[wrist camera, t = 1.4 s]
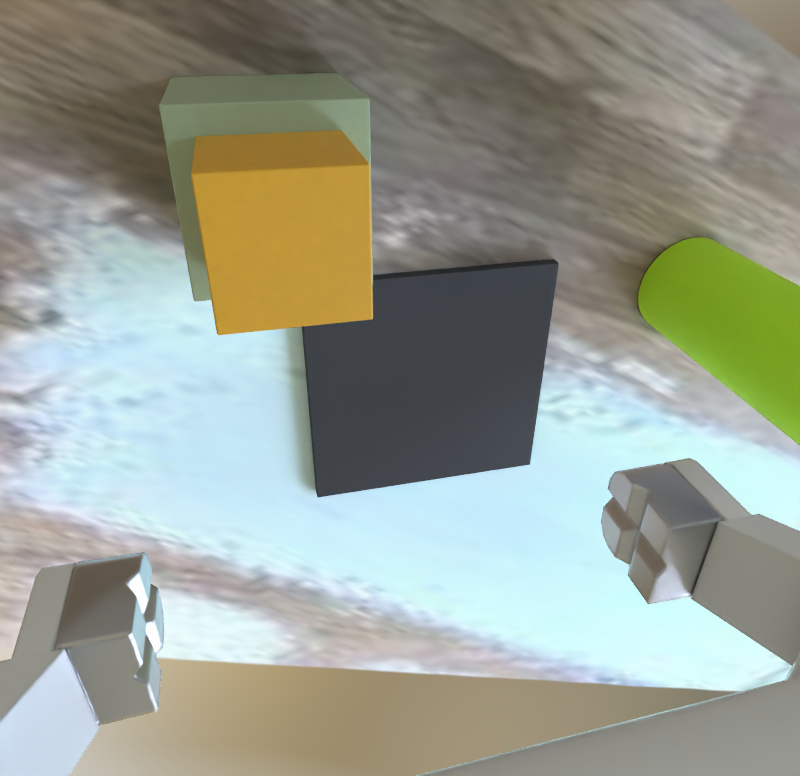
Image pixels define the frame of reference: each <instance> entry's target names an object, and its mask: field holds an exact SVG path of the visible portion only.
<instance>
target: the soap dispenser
mask: <svg viewBox="0 0 800 776" xmlns="http://www.w3.org/2000/svg"><path fill="white" fill-rule="evenodd" d="M638 304H639V309H640V312H641V314H642V316H643V318H644V319H645V320H646V322H647V323H649V324H650V325H651V326H652V327H654V328H655V329H656V330H657V331H658V332H660V333H661V334H662V335H663V336H665V337H666V338H667V339H668V340H670V341H671V342H672V343H673V344H675V345H676V346H677V347H678V348H680V349H681V350H682V351H683V352H684V353H686V354H687V355H688V356H689V357H691V358H692V359H693V360H694V361H696V362H697V363H698V364H699V365H701V366H702V367H703V368H704V369H706V370H707V371H708V372H709V373H711V374H712V375H713V376H714V377H715V378H717V379H718V380H719V381H720V382H722V383H723V384H724V385H725V386H727V387H728V388H729V389H730V390H732V391H733V392H734V393H735V394H737V395H738V396H739V397H740V398H741V399H743V400H744V401H745V402H746V403H748V404H749V405H750V406H751V407H753V408H754V409H755V410H756V411H758V412H759V413H760V414H761V415H763V416H764V417H765V418H766V419H767V420H769V421H770V422H771V423H772V424H774V425H775V426H776V427H777V428H779V429H780V430H781V431H782V432H784V433H785V434H786V435H787V436H789V437H790V438H791V439H792V440H793V441H795V442H796V443H797V444H798V445H800V286H798V285H797V284H795V283H793V282H791V281H789V280H787V279H785V278H783V277H782V276H780V275H778V274H776V273H774V272H772V271H770V270H768V269H767V268H765V267H763V266H761V265H759V264H757V263H755V262H754V261H752V260H750V259H748V258H746V257H744V256H742V255H740V254H739V253H737V252H735V251H733V250H731V249H729V248H727V247H725V246H724V245H722V244H720V243H718V242H716V241H714V240H712V239H709V238H703V237H695V238H689V239H686V240H683V241H680V242H678V243H676V244H674V245H672V246H671V247H669V248H668V249H666V250H665V251H664V252H663V253H662V254H660V255H659V256H658V257H657V258H656V259H655V261H654V262H653V263H652V264H651V266H650V267H649V268H648V270H647V272H646V273H645V275H644V277H643V280H642V282H641V285H640V289H639V295H638Z"/></svg>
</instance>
